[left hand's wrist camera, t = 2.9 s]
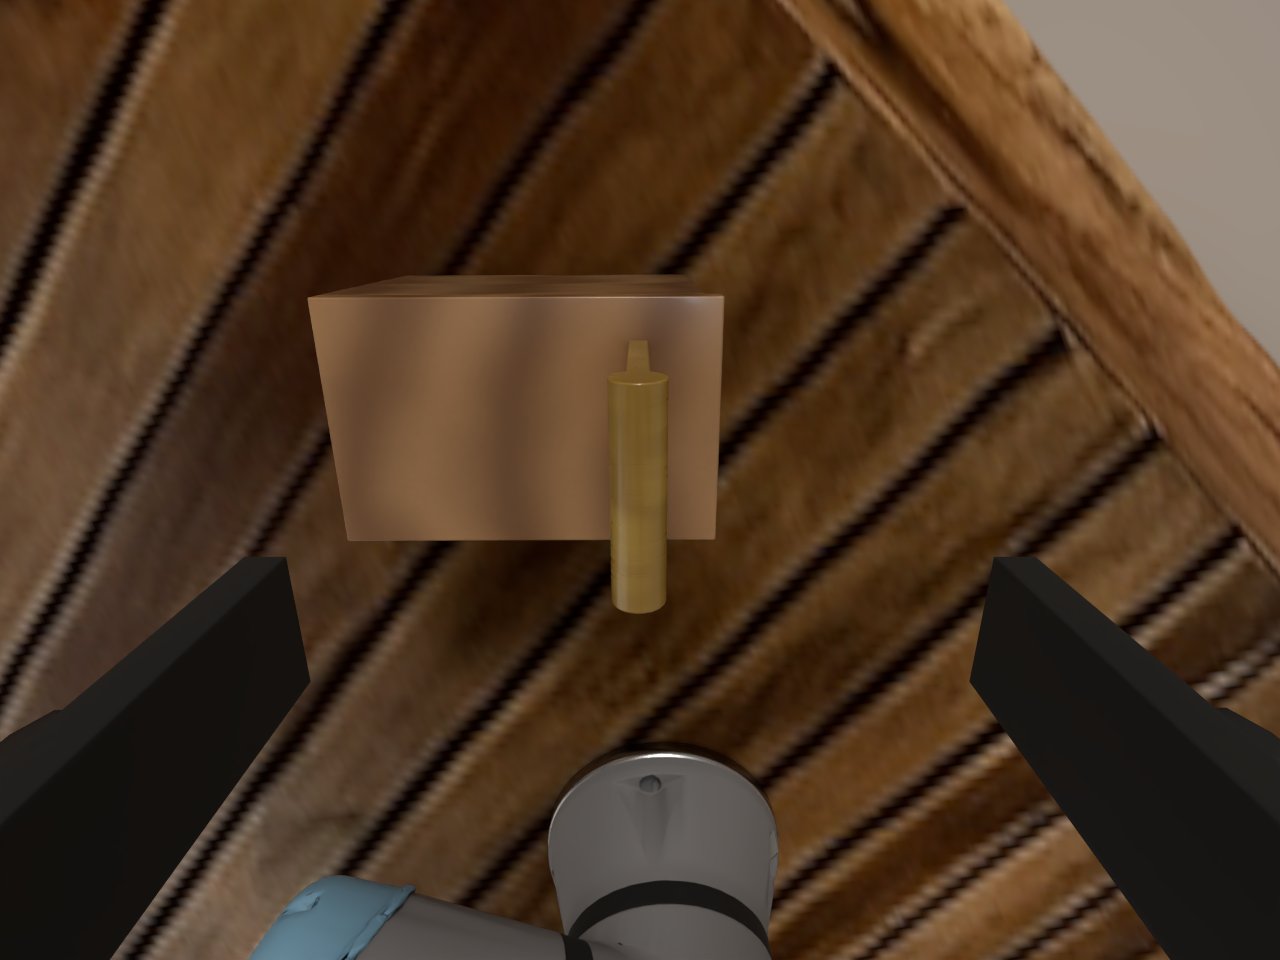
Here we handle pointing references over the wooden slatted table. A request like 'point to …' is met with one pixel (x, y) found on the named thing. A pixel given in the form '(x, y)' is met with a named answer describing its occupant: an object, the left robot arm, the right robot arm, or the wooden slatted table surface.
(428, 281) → the chest
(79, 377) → the wooden slatted table surface
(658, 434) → the panel with bar handle
